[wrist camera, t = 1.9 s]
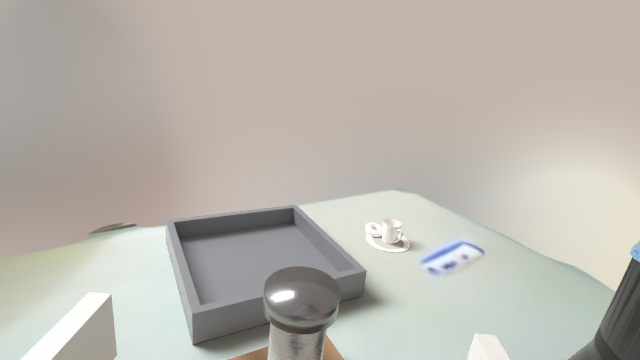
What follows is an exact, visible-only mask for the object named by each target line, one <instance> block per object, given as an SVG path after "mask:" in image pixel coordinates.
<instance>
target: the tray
mask: <svg viewBox="0 0 640 360" xmlns="http://www.w3.org/2000/svg"><path fill="white" fill-rule="evenodd" d="M166 243H167V247H168V251H169V255H170V259H171V263H172V266H173V270H174V274H175V278H176V282H177V286H178V290H179V294H180V297H181V301H182V305H183V309H184V313H185V317H186V321H187V324H188V328H189V332H190V336H191V340H192V344H193V345H194V344H197V343H201V342H204V341H208V340H211V339H215V338H218V337H221V336H225V335H228V334H232V333H235V332H239V331H242V330H246V329H249V328H253V327H256V326H260V325H263V324H267V323H270V322H269V321H268V320H267V318H266V317H265V314H264V312H263V295H264V284H265V282H266V280H267V278H268V277H269V276H270V275H271V274H273V273H274V272H276V271H278V270H280V269H283V268H287V267H295V266H303V267H310V268H315V269H318V270H320V271H323V272H325V273H327V274H328V275H330V276H331V277H332V278H333V279H334V280H335V281H336V282H337V283H338V285H339V287H340V292H341V293H340V301H339V302H343V301H346V300H350V299H353V298H357V297H360V296H362V294H363V288H364V282H365V277H366V270H365V269H364V268H363V267H362V266H361V265H360V264H359V263H358V262H357V261H355V260H354V259H353V258H352V257H351V256H350V255H349V254H348V253H347V252H346V251H345V250H344V249H343V248H342V247H340V246H339V245H338V244H337V243H336V242H335V241H334V240H333V239H332V238H331V237H330V236H329V235H328V234H327V233H325V232H324V231H323V230H322V229H321V228H320V227H319V226H318V225H317V224H316V223H315V222H314V221H313V220H312V219H310V218H309V217H308V216H307V215H306V214H305V213H304V212H303V211H302V210H301V209H300V208H299V207H298V206H297V205H290V206H282V207H273V208H265V209H257V210H248V211H240V212H231V213H223V214H215V215H207V216H198V217H189V218H180V219H172V220H166Z"/></svg>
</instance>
